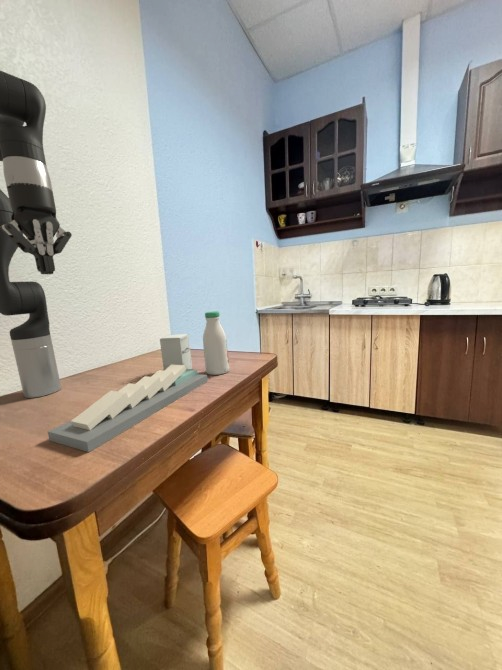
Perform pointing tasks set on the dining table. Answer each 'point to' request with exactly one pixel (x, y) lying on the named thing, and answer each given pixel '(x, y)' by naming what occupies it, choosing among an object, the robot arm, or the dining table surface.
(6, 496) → the dining table surface
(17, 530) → the dining table surface
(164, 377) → the domino
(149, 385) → the domino
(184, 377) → the domino
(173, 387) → the board
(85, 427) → the domino
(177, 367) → the domino
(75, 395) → the dining table surface
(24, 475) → the dining table surface
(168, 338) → the supplement box
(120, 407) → the domino
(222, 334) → the milk bottle
